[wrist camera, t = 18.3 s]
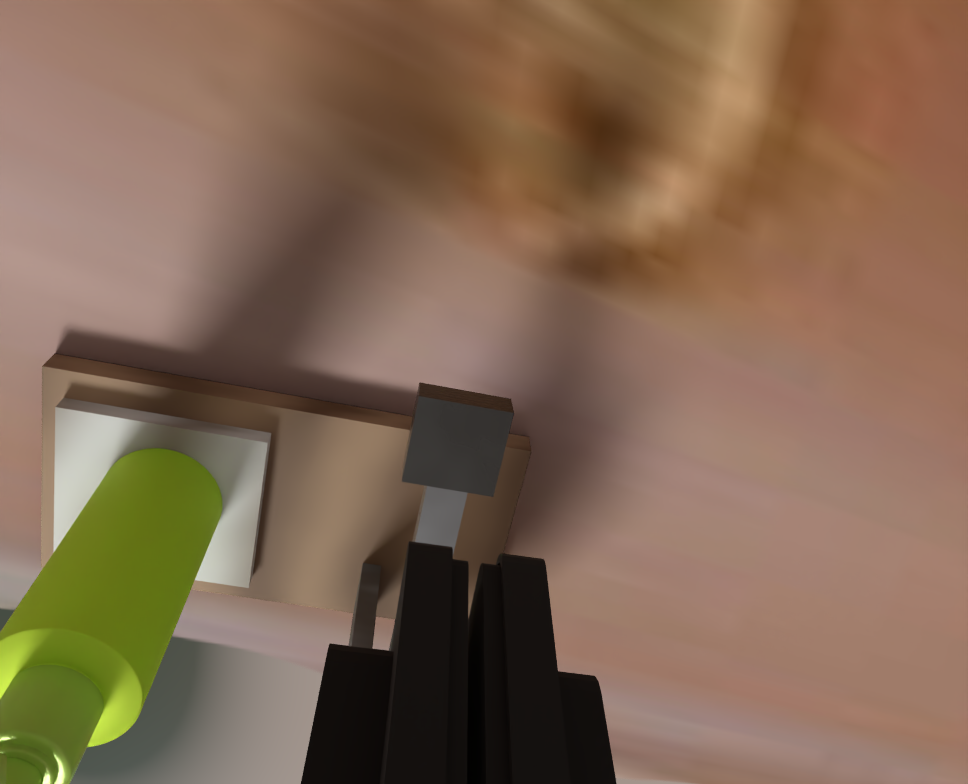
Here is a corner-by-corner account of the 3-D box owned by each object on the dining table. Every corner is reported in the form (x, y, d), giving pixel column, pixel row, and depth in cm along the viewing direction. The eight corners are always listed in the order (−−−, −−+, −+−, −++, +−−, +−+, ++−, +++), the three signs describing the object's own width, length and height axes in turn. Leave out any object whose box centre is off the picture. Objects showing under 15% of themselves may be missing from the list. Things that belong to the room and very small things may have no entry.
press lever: (533, 379, 37) (550, 438, 32) (429, 792, 45) (429, 898, 40) (391, 352, 37) (384, 409, 31) (311, 778, 45) (294, 883, 39)
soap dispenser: (225, 436, 43) (66, 775, 25) (220, 553, 46) (75, 930, 28) (100, 422, 43) (-154, 757, 25) (104, 540, 46) (-121, 917, 28)
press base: (528, 437, 47) (560, 622, 34) (480, 614, 52) (491, 835, 39) (54, 353, 44) (-113, 522, 31) (52, 550, 49) (-92, 767, 36)
